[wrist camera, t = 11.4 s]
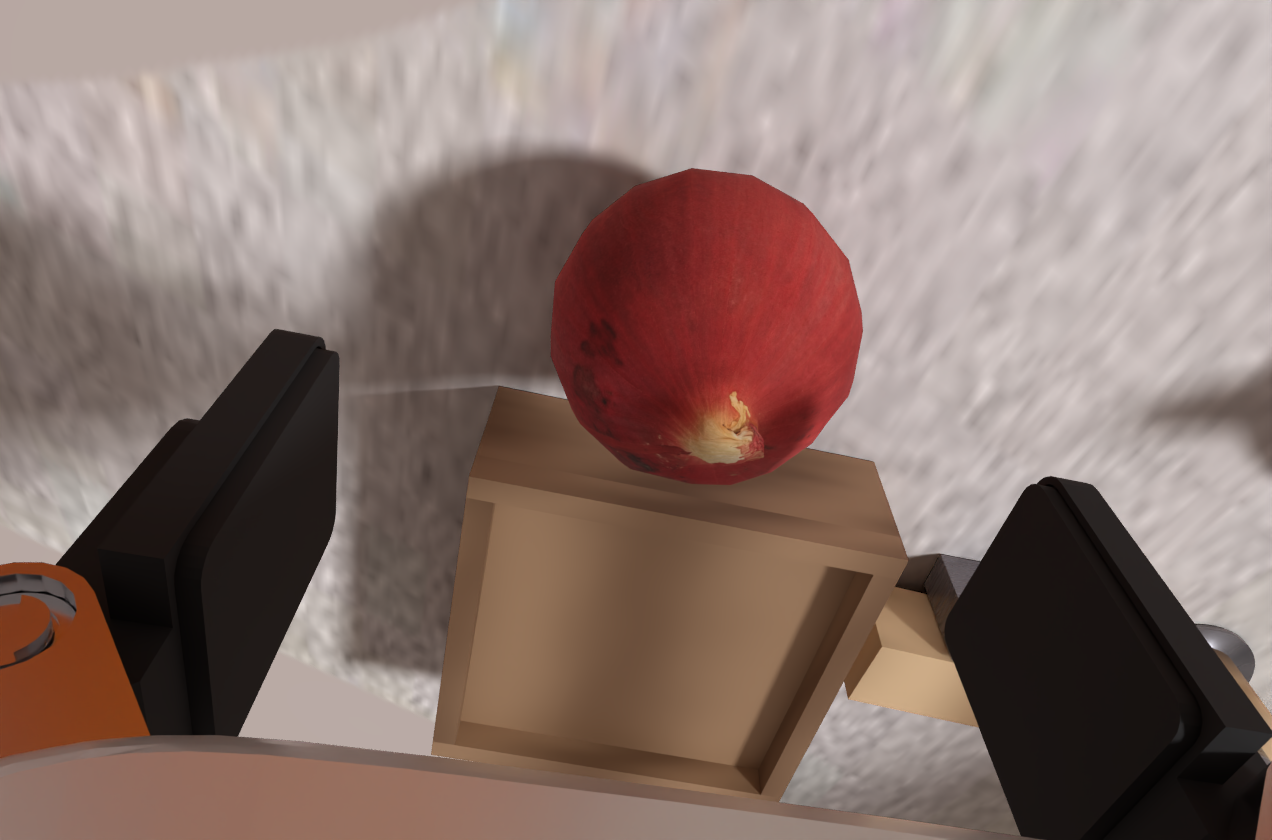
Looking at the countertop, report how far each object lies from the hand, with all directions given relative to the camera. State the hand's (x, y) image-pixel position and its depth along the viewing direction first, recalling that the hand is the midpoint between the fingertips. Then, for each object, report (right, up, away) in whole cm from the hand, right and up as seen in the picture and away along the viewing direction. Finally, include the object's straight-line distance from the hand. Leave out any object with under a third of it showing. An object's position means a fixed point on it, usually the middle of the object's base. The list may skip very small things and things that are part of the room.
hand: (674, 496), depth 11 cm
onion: (+1, +5, +8) cm, 9 cm away
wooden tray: (0, -3, +13) cm, 13 cm away
